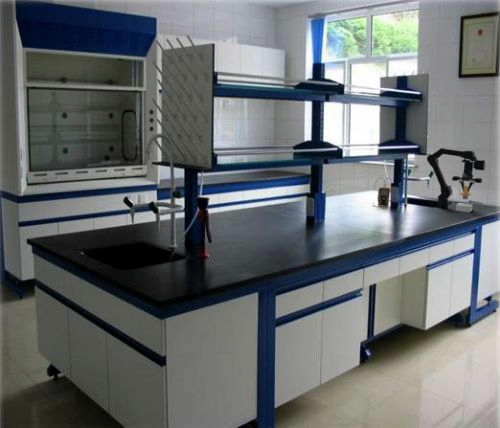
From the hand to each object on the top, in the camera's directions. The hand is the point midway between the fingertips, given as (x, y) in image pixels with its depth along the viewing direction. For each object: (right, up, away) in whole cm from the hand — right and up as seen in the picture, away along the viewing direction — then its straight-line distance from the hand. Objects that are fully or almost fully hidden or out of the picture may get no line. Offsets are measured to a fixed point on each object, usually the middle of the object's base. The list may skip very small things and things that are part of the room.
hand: (465, 191), depth 383 cm
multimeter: (-55, -10, +7) cm, 57 cm away
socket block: (0, -13, +3) cm, 13 cm away
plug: (0, -5, +1) cm, 5 cm away
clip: (+6, -9, 0) cm, 11 cm away
